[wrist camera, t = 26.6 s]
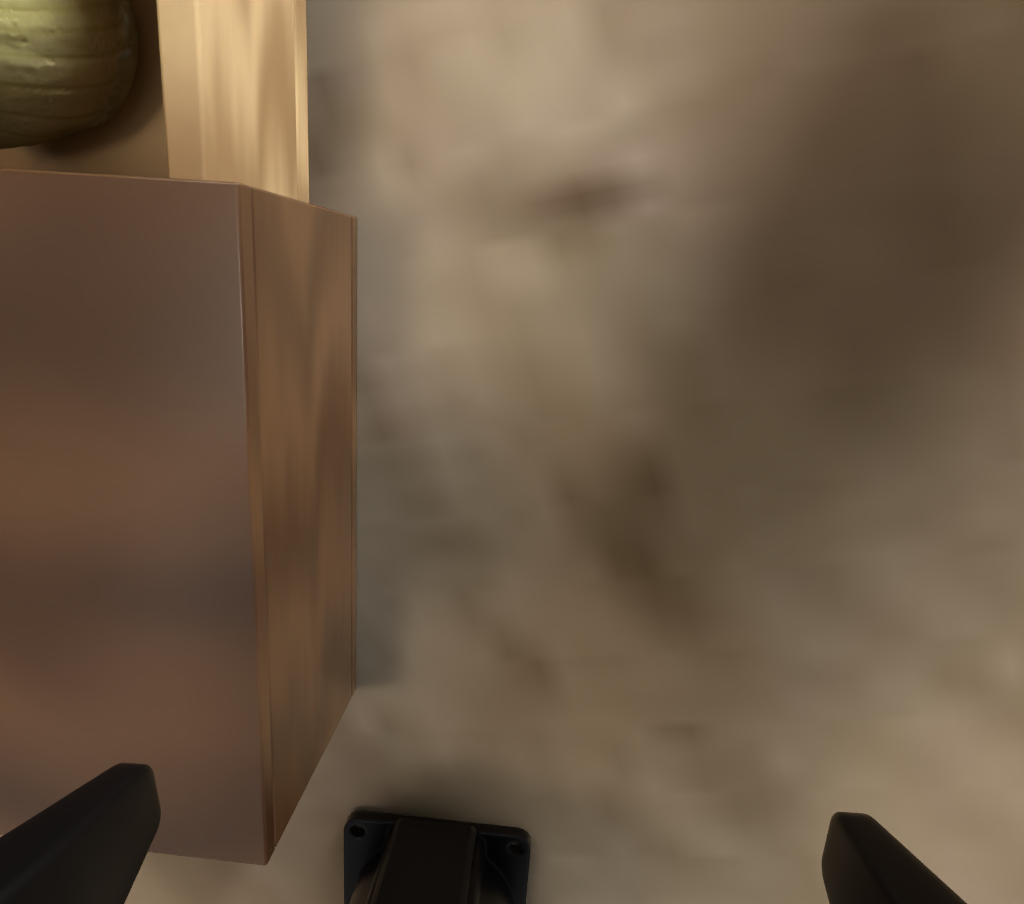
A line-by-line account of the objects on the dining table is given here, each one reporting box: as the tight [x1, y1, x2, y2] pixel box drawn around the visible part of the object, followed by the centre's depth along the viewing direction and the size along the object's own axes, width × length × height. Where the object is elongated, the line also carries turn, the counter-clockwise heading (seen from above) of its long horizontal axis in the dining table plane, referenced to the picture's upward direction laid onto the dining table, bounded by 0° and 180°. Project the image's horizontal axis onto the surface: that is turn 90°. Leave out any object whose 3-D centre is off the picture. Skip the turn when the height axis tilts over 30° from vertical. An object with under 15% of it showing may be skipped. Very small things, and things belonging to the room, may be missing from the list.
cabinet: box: [0, 168, 357, 865], centre depth 17 cm, size 15×13×7 cm
